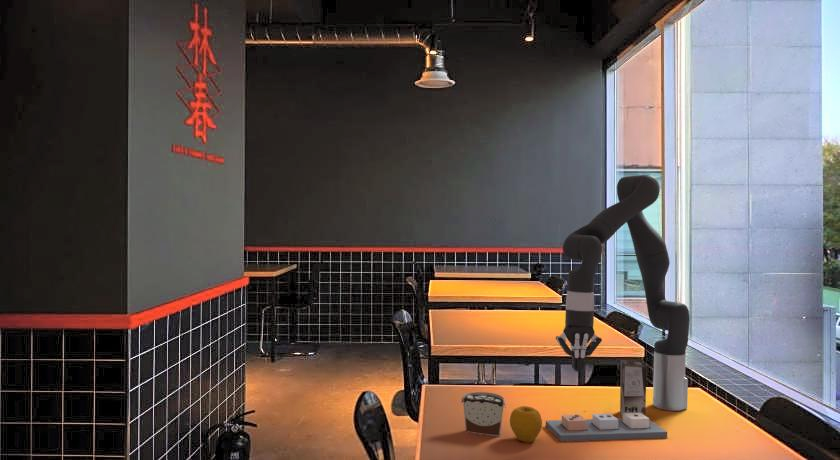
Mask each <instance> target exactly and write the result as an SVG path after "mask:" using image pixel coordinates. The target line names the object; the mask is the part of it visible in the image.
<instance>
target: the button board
mask: <svg viewBox="0 0 840 460" xmlns="http://www.w3.org/2000/svg"><path fill="white" fill-rule="evenodd" d="M616 418H617V417H616ZM585 419H586V418H585ZM617 419H618V429H603V430H600V429H599V428H597V427H596V426H595V425H594V424H593V423H592V418H590V419H589V418H587V419H586V420H587V430H573V431H568V430H567V429H566V428H565V427H564V426H563V425H562V424H561V423H562V419H557V420H552V419H551V420H550V419H549V420H545V427H546V428H547V429H548V430H549V431H550V433H551V434H553V436H555V437H556V438H557V440H559V441H560V442H581V441H582V442H583V441H584V442H585V441H607V440H609V441H611V440H612V441H613V440H638V439H639V440H641V439H644V440H645V439H665V438H666V439H667V438H668V431H666V429H664V428H662V427H661V426H659V425H658V424H656V423H655V422H653V421H652V420H650V419H649V428H633V429H631V428H630V427H628V426H627V425H626V424H624V423H623V417H622V418H621V417H618V418H617Z"/></svg>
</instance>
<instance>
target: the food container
mask: <svg viewBox="0 0 840 460" xmlns="http://www.w3.org/2000/svg"><path fill="white" fill-rule="evenodd" d="M460 403H461V404H463V412H464V413H463V414H464V415H463V416H464V425H465V432H466V431H469V432H473V433H472V434H476V433H480V434H479V435H483V434H486V435H485V436H492V437H498V438H499V437H501V431H502V421H503V413H504V409H505V408H507V404H506V400H505V398H504V397H503V396H502V395H500V394H499V393H498V394H497V393H495V392H486V391H482V392H481V391H474V392H469V393H468V392H467V393H465V394H463V395H462V397H461V401H460Z"/></svg>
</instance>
